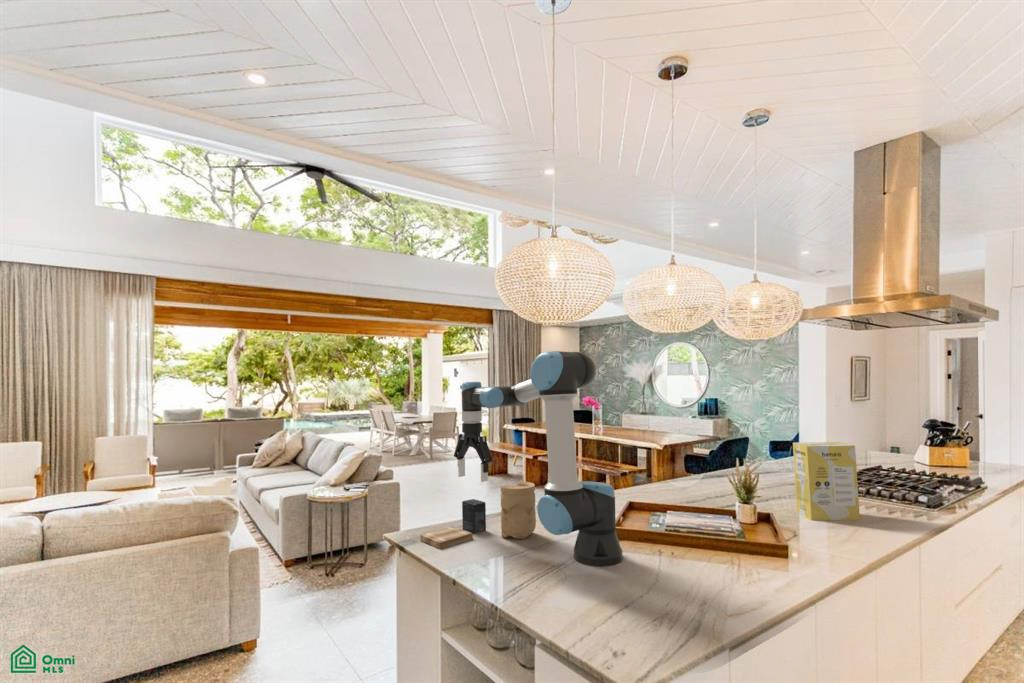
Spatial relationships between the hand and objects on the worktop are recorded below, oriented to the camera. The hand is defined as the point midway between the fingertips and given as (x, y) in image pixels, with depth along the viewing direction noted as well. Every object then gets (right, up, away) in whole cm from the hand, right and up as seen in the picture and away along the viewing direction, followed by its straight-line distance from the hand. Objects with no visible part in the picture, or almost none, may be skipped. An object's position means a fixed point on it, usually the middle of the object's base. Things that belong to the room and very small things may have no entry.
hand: (472, 478), depth 190 cm
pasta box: (+139, -17, +7) cm, 140 cm away
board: (-8, -18, -12) cm, 23 cm away
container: (+17, -18, -9) cm, 27 cm away
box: (+1, -19, -1) cm, 19 cm away
